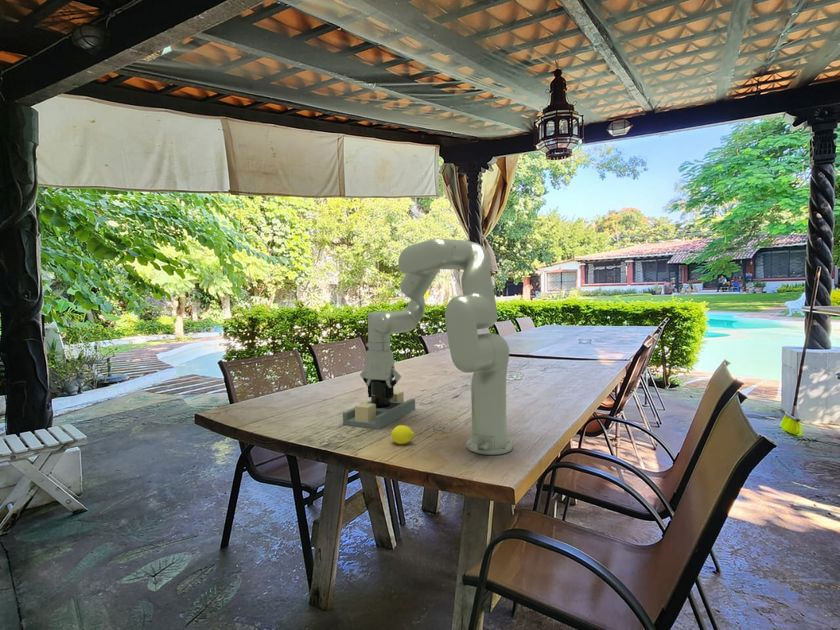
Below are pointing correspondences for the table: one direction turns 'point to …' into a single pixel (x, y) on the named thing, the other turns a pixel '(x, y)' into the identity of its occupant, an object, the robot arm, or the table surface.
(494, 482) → the table surface
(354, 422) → the rail rack
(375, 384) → the supplement bottle
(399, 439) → the lemon
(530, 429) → the table surface
